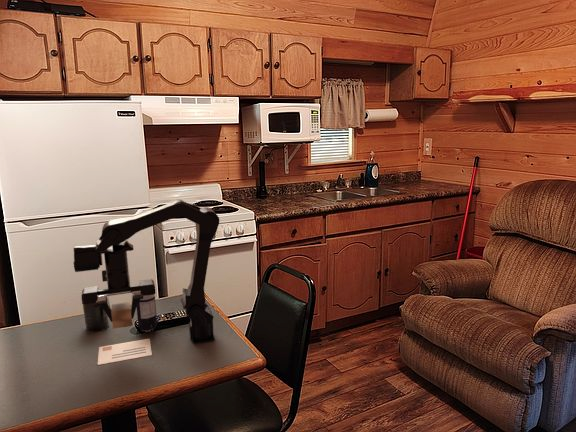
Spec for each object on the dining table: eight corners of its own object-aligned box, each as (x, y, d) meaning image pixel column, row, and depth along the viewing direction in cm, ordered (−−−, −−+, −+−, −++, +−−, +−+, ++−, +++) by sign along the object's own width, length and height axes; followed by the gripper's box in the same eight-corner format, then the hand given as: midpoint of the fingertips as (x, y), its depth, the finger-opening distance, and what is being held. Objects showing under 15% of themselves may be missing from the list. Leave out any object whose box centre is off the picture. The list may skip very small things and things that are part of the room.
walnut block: (131, 318, 128) (130, 301, 127) (132, 325, 123) (130, 308, 122) (113, 321, 126) (111, 304, 125) (113, 328, 122) (111, 311, 120)
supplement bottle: (101, 320, 146) (97, 286, 143) (113, 325, 142) (109, 290, 139) (81, 328, 141) (77, 292, 138) (93, 334, 137) (89, 297, 134)
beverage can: (160, 325, 142) (157, 290, 139) (152, 333, 137) (149, 297, 134) (144, 323, 143) (141, 289, 141) (135, 332, 138) (131, 296, 135)
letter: (149, 338, 134) (149, 338, 134) (151, 355, 124) (151, 354, 124) (99, 347, 129) (99, 346, 129) (97, 365, 120) (97, 364, 120)
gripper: (150, 254, 132) (154, 303, 135) (81, 262, 125) (87, 313, 129) (153, 266, 121) (157, 318, 125) (78, 275, 115) (85, 330, 119)
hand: (122, 319), depth 125 cm, fingers closed on walnut block, 5 cm apart
